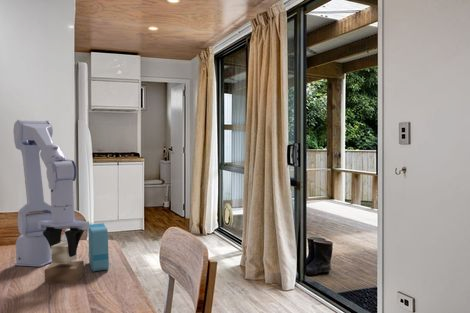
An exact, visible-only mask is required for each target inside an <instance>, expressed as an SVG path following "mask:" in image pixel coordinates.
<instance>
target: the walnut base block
mask: <svg viewBox="0 0 470 313" xmlns="http://www.w3.org/2000/svg"><path fill="white" fill-rule="evenodd" d="M84 269H85V266H84V260H79V261H76V260H73V261H71V262H69V263H67V264H64V263H50V265H48V266H47V267H46V268H45V269H44V271H43V272H44V285H53V284H54V285H55V284H75V283H78V282H79V281H80V279H81V278H82V277H83V276H84V275H85V270H84Z"/></svg>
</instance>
